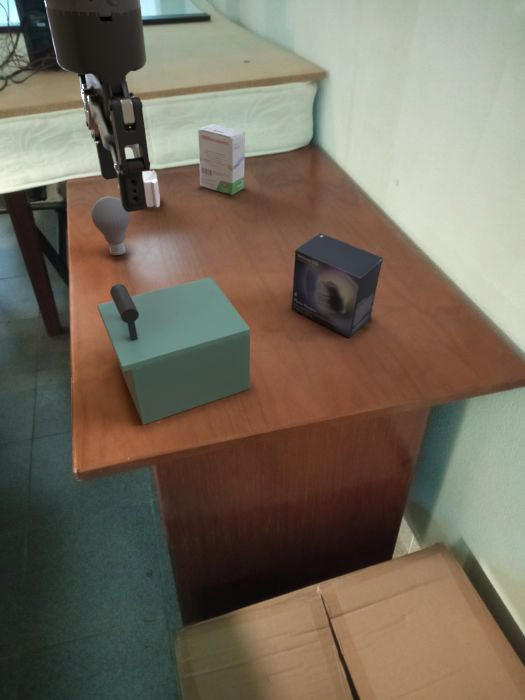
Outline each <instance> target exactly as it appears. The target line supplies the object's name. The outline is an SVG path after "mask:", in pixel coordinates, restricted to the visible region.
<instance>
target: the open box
mask: <svg viewBox="0 0 525 700" xmlns="http://www.w3.org/2000/svg"><path fill="white" fill-rule="evenodd" d="M115 355H116V354H115ZM250 360H251V333H250V334H249V335H245V336H242V337H239V338H235V339H232V340H229V341H225V342H222V343H219V344H215V345H212V346H208V347H205V348H202V349H198V350H195V351H192V352H188V353H185V354H182V355H178V356H175V357H171V358H168V359H165V360H161V361H158V362H155V363H151V364H148V365H145V366H141V367H138V368H134V369H131V370H128V371H124V372H123V370H122V368H121V365H120V363H119V360H118V358H117V355H116V361H117V364H118V367H119V369H120V371H121V374H122V376H123V379H124V380H125V383H126V386H127V389H128V391H129V394H130V396H131V399H132V401H133V404H134V406H135V408H136V411H137V414H138V416H139V420H140V421H141V425H143V426H144V425H147V424H150V423H154V422H156V421H159V420H161V419H165V418H167V417H170V416H173V415H177V414H180V413H184V412H186V411H188V410H191V409H195V408H197V407H201V406H203V405H206V404H209V403H213V402H215V401H219V400H221V399H224V398H227V397H229V396H234V395H236V394H238V393H242V392H245V391H248V390H250V389H251V385H250V384H251V383H250V382H251V374H250V373H251V362H250Z"/></svg>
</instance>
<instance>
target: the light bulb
mask: <svg viewBox="0 0 525 700" xmlns="http://www.w3.org/2000/svg"><path fill="white" fill-rule="evenodd" d="M130 213H131V212H127V211H125V210H124V208H123V206H122V202H121V198H118V197H115V196H109V195H108V196H104V197H103V196H102V197H101V198H99V199H98V200H96V201H95V203H94V204H93V206H92V209H91V214H90V215H91V216H90V217H91V220H92V223H93V224H94V226H95V227H96V229H98V231H99V232H100V233H101V234H102V235H103V236H104V239H105V241H106V242H107V245H108V248H109V253H110V254H111V255H114V256H120V255H124V253H126V251H127V249H126V244H125V240H126V231H127V229H128V227H129V224H130V221H131V220H130V219H131V214H130Z"/></svg>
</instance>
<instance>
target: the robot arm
mask: <svg viewBox="0 0 525 700" xmlns="http://www.w3.org/2000/svg"><path fill="white" fill-rule="evenodd" d="M44 5H45V9H46V15H47V21H48V24H49V29H50V34H51V39H52V44H53V48H54V53H55V57H56V63H57V64H58V65H59V67H60V68H61V69H63V70H64V71H67V72H69V73H73V74H76V76H77V77H78V82H79V87H80V93H81V99H82V104H83V109H84V115H85V125H86V127H87V128H88V130H89V131H91V133H90V137H91V139H92V140H93V142H94V143H95V148H96V154H97V158H98V165H99V170H100V174H101V176H102V178H103V179H104V180H115V179H117V183H118V184H119V195H120V200H121V202H122V206H123V208H124V210H125V211H127V212H130V213H131V212H132V213H133V212H136V211H143V210H145V209H146V207H147V205H146V197H145V189H144V181H143V173H142V172H143V171H151V162H150V161H151V160H150V156H149V149H148V141H147V133H146V127H145V120H144V119H145V118H144V111H143V108H144V107H143V102H142V100H141V97H140V96H135V95H134V92H133V91H129V86H128V82H127V80H126V79H127V75H128V74H129V73H130V72H136V71H139V70H141V69H143V68H144V67H145V65H146V63H147V54H146V53H147V52H146V44H145V35H144V23H143V15H142V6H141V0H44ZM127 148H130V149H131V150H132V153H133V157H131V158H127V155H126V149H127Z"/></svg>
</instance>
